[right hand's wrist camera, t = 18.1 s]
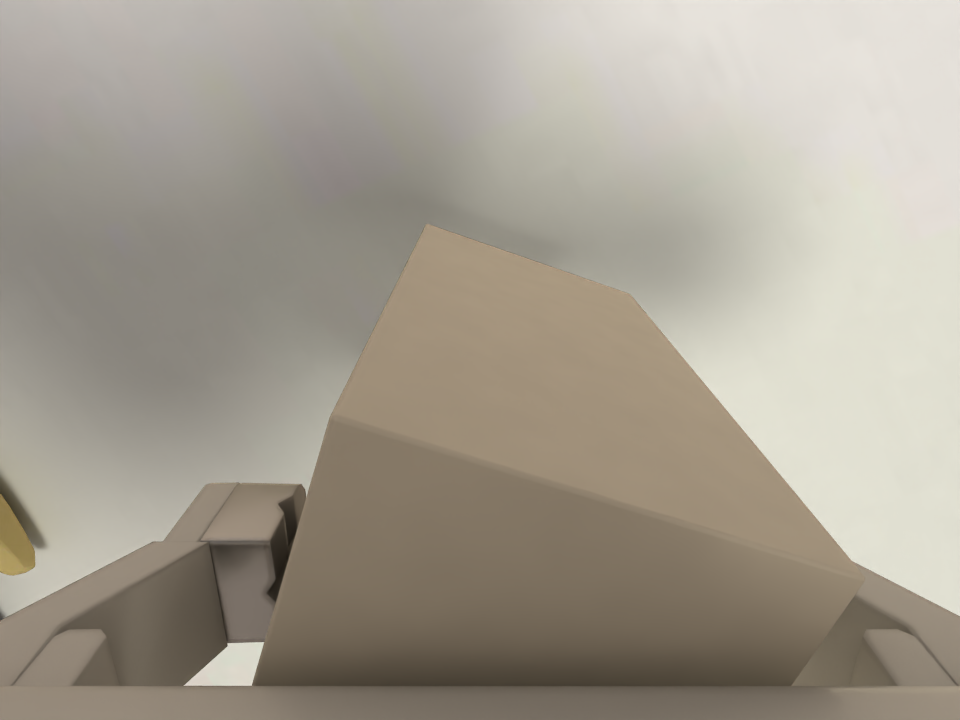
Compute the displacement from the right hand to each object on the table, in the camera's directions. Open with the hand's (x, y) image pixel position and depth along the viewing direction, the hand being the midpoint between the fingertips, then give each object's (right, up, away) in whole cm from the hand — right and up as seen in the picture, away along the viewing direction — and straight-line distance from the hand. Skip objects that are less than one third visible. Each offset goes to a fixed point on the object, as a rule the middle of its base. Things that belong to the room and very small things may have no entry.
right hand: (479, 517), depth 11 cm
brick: (0, +2, +5) cm, 5 cm away
